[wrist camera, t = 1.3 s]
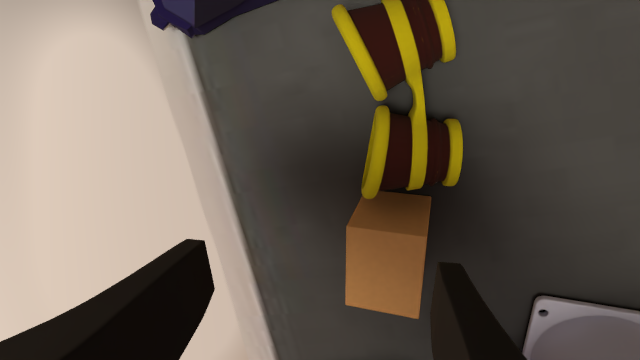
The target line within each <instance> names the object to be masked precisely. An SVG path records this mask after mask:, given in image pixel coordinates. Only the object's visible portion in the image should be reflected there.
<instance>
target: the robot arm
mask: <svg viewBox="0 0 640 360" xmlns="http://www.w3.org/2000/svg"><path fill="white" fill-rule="evenodd" d="M214 289H215V288H214V283H213V278H212V274H211V269H210V264H209V259H208V255H207V250H206V245H205V241H203V240H193V239H186V240H184V241H183V242H181V243H179V244H178V245H176V246H174V247H173V248H171V249H170V250H168V251H167V252H165V253H164V254H162V255H161V256H159V257H158V258H156V259H155V260H153V261H151V262H150V263H148V264H147V265H145V266H144V267H142V268H141V269H139V270H137V271H136V272H134V273H133V274H131V275H130V276H128V277H126V278H125V279H123V280H121V281H120V282H118V283H116V284H115V285H113V286H111V287H110V288H108V289H107V290H105V291H103V292H102V293H100V294H98V295H96V296H95V297H93V298H91V299H89V300H88V301H86V302H84V303H82V304H80V305H79V306H76V307H75V308H73V309H71V310H69V311H67V312H65V313H63V314H61V315H59V316H57V317H55V318H53V319H51V320H49V321H46V322H44V323H42V324H40V325H38V326H35V327H33V328H31V329H29V330H26V331H24V332H22V333H19V334H18V335H15V336H13V337H11V338H8V339H6V340H3V341H1V342H0V360H179V359H180V357H181V355H182V353H183V352H184V350H185V348H186V347H187V345H188V343H189V341H190V340H191V338H192V336H193V334H194V333H195V331H196V329H197V327H198V326H199V324H200V322H201V320H202V318H203V316H204V314H205V312H206V309H207V307H208V305H209V302H210V300H211V297H212V295H213V292H214ZM539 310H546V311H545V312H539ZM430 317H431V340H432V352H433V358H434V360H640V311H635V310H629V309H623V308H617V307H611V306H605V305H599V304H593V303H587V302H581V301H575V300H568V299H562V298H556V297H550V296H539V297H537V298H536V299H535V301H534V304H533V309H532V313H531V317H530V321H529V325H528V330H527V334H526V338H525V342H524V347H523V351H522V352H521V351H520V350H519V349H518V347H517V346H516V345H515V343H514V342H513V341H512V340H511V338H510V337H509V336H508V334H507V333H506V332H505V330H504V329H503V328H502V326H501V325H500V324H499V322H498V321H497V319H496V318H495V316H494V315H493V314H492V312H491V311H490V309H489V308H488V307H487V305H486V304H485V302H484V301H483V299H482V297H481V296H480V294H479V293H478V291H477V290H476V288H475V286H474V285H473V283H472V281H471V280H470V278H469V276H468V275H467V273H466V271H465V269H464V268H463V266H462V265H461V264H458V263H447V262H438V263H437V270H436V277H435V284H434V291H433V298H432V305H431V312H430Z"/></svg>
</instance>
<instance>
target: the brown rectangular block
mask: <svg viewBox="0 0 640 360" xmlns="http://www.w3.org/2000/svg"><path fill="white" fill-rule="evenodd" d="M430 206H431V196H422V195H413V194H404V193H394V192H385V191H378V193H377V195H376V196H375V197H374V198H372V199H366V198H364V197H363V195H362V197H361V199H360V201H359V203H358V205H357V207H356V209H355V211H354V213H353V215H352V217H351V219H350V221H349V223H348V224H347V226H346V302H345V304H346V305H349V306H354V307H359V308H364V309H369V310H374V311H380V312H385V313H390V314H395V315H400V316H405V317H410V318H415V319H419V312H420V303H421V294H422V284H423V275H424V265H425V255H426V246H427V236H428V226H429V216H430Z"/></svg>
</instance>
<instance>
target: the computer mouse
mask: <svg viewBox="0 0 640 360" xmlns="http://www.w3.org/2000/svg"><path fill="white" fill-rule="evenodd" d="M274 1H277V0H153V2H154V5H155V8H154V9H153V11H152V12H151V14H150V15H151V21H152V24H153V25H155V26H157V27H158V28H160V29H162V30H163V31H164V30H165V29H166V28H167V27H168V26H169V25H170V24H172V25H173V26H175V27H176V28H178V29H179V30H181V31H182V32H183V33H185V34H186V35H188V36H189V37H190V38H192V37H193V36H194V35H200V34H206V33H208V32H209V31H211V30H213V29H214V28H216V27H217V26H219V25H221V24H222V23H224V22H226V21H227V20H229V19H230V18H232V17H234V16H236V15H239V14H242V13H244V12H247V11H250V10H253V9H255V8H258V7H261V6H263V5H266V4H269V3H271V2H274Z"/></svg>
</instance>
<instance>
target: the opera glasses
mask: <svg viewBox="0 0 640 360" xmlns="http://www.w3.org/2000/svg"><path fill="white" fill-rule="evenodd" d="M332 16H333V19H334V22H335V23H336V25H337V27H338V29H339V31H340V33H341V35H342V37H343V39H344V41H345V43H346V44H347V46H348V48H349V50H350V52H351V54H352V56H353V58H354V60H355V62H356V64H357V66H358V68H359V70H360V72H361V74H362V76H363V78H364V80H365V82H366V84H367V85H368V87H369V89H370V91H371V93H372V95H373V97H374V99H375V100H377V101H382V100H384V99H385V98H386V97H387V90H389V89H390V88H392V87H394V86H395V85H397V84H399V83H400V82H402V81H404V80H405V81H406V83H407V84H408V85H409V86H410V87H411V89H412V94H413V106H412V108H411V110H410V112H409V114H408V116H404V115H399V114H393V113H390V112H389V108H388V107H387V106H385V105H381V106H378V107H377V108H376V111H375V115H374V121H373V126H372V131H371V136H370V142H369V147H368V153H367V158H366V163H365V169H364V174H363V180H362V186H361V187H362V195H363V197H364V198H366V199H372V198H374V197H375V196H376V195H377V193H378V191H383V190H389V189H396V188H402V187H405V188H406V190H414V189H420V188H421V187H422V186H423V184H428V185H430V186H433V185H434V184H435V183H436V182H440V181H441V183H442V184H443V186H454V185H456V183H457V181H458V179H459V176H460V171H461V165H462V156H463V139H462V131H461V126H460V123H459V121H458V120H457V119H446V120H445V121H444V122H443V123H440V122H438V121H437V120H436V119H435V118H432V119H431V120H426V113H425V101H424V92H423V84H422V75H421V70H422V69H424V68H428V69H431V68H432V67H433V64H434V63H435V62H436V61H438V60H439V59H440V60H441V61H442V62H444V63H445V62H448V61H451V60H453V59H454V58H455V55H456V45H455V38H454V32H453V28H452V23H451V19H450V16H449V12H448V9H447V6H446V4H445V1H444V0H381V4H378V5H373V6H368V7H363V8H358V9H354V10H349V11H347V10H346V8H345V7H344V6H343V5H342V4H340V5H336V6H335V7H334V8H333V9H332Z"/></svg>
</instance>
